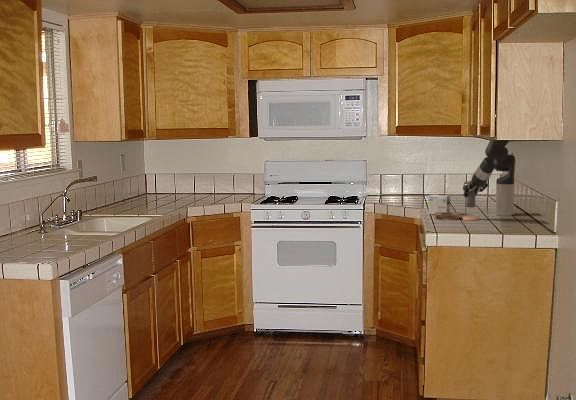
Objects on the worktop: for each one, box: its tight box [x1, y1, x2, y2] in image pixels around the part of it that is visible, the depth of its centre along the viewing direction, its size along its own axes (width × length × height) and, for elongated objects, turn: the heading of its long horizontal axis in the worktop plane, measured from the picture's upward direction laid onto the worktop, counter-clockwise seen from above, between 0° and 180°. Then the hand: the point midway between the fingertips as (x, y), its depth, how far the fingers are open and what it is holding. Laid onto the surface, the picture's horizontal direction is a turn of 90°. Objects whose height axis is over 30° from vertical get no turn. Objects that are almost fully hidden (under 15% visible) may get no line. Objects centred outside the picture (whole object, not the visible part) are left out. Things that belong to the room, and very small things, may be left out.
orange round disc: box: [461, 216, 480, 222], centre depth 335 cm, size 9×9×1 cm
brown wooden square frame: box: [434, 211, 460, 221], centre depth 340 cm, size 12×12×2 cm
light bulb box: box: [428, 194, 451, 215], centre depth 356 cm, size 11×7×11 cm, turn 59°
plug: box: [465, 181, 476, 209], centre depth 334 cm, size 5×5×13 cm
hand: (468, 196), depth 336 cm, fingers closed on plug, 4 cm apart
